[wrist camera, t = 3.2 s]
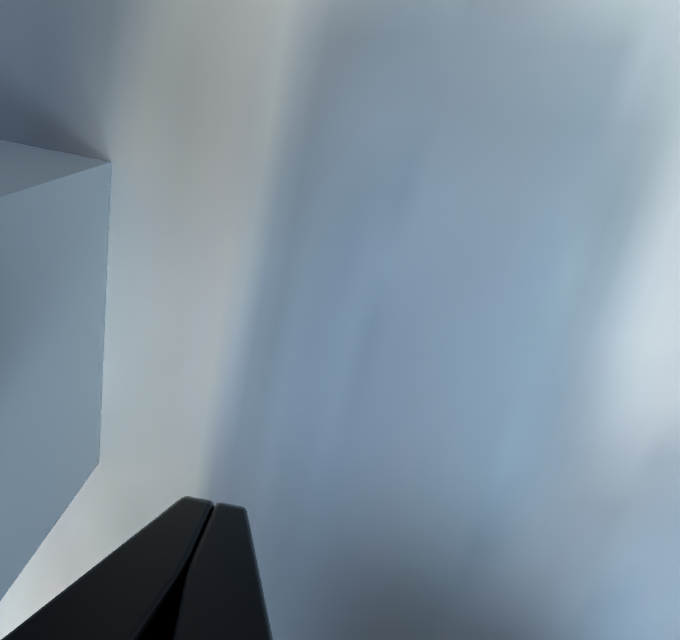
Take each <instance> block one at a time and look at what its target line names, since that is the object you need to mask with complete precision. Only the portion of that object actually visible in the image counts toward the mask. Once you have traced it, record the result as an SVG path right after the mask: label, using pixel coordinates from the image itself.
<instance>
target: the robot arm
mask: <svg viewBox="0 0 680 640" xmlns="http://www.w3.org/2000/svg"><path fill="white" fill-rule="evenodd" d="M2 640H273V638H272V633H271V628H270V623H269V619H268V614H267V609H266V604H265V599H264V594H263V589H262V584H261V579H260V574H259V569H258V564H257V559H256V554H255V549H254V544H253V539H252V534H251V529H250V524H249V520H248V515H247V511H246V509H245V508H244V507H241V506H236V505H231V504H226V503H217V504H216V505H215V506H214V504H213V502H212V501H210V500H205V499H200V498H195V497H190V496H186V497H183V498H181V499H180V500H178V501H177V502H176V503H175V504H173V505H172V506H171V507H169V508H168V509H167V510H166V511H164V512H163V513H162V514H161V515H159V516H158V517H157V518H155V519H154V520H153V521H152V522H150V523H149V524H148V525H147V526H145V527H144V528H143V529H141V530H140V531H139V532H138V533H136V534H135V535H134V536H133V537H131V538H130V539H129V540H127V541H126V542H125V543H124V544H122V545H121V546H120V547H119V548H117V549H116V550H115V551H113V552H112V553H111V554H110V555H108V556H107V557H106V558H105V559H103V560H102V561H101V562H100V563H98V564H97V565H96V566H94V567H93V568H92V569H91V570H89V571H88V572H87V573H86V574H84V575H83V576H82V577H80V578H79V579H78V580H77V581H75V582H74V583H73V584H72V585H70V586H69V587H68V588H66V589H65V590H64V591H63V592H61V593H60V594H59V595H58V596H56V597H55V598H54V599H52V600H51V601H50V602H49V603H47V604H46V605H45V606H44V607H42V608H41V609H40V610H38V611H37V612H36V613H35V614H33V615H32V616H31V617H30V618H28V619H27V620H26V621H24V622H23V623H22V624H21V625H19V626H18V627H17V628H16V629H14V630H13V631H12V632H10V633H9V634H8V635H7V636H5V637H4V638H3V639H2Z"/></svg>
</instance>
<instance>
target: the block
mask: <svg viewBox="0 0 680 640" xmlns="http://www.w3.org/2000/svg"><path fill="white" fill-rule="evenodd" d="M110 181H111V162H109V161H104V160H100V159H95V158H90V157H85V156H80V155H75V154H70V153H65V152H60V151H55V150H50V149H45V148H40V147H35V146H30V145H25V144H20V143H15V142H10V141H5V140H0V601H1V599H2V598H3V596H4V595H5V594H6V592H7V591H8V589H9V588H10V587H11V585H12V584H13V582H14V581H15V580H16V578H17V577H18V575H19V574H20V573H21V571H22V570H23V568H24V567H25V566H26V564H27V563H28V561H29V560H30V559H31V557H32V556H33V554H34V553H35V552H36V550H37V549H38V547H39V546H40V544H41V543H42V542H43V540H44V539H45V537H46V536H47V535H48V533H49V532H50V530H51V529H52V528H53V526H54V525H55V523H56V522H57V521H58V519H59V518H60V516H61V515H62V514H63V512H64V511H65V509H66V508H67V507H68V505H69V504H70V502H71V501H72V500H73V498H74V497H75V495H76V494H77V493H78V491H79V490H80V488H81V487H82V486H83V484H84V483H85V481H86V480H87V479H88V477H89V476H90V474H91V473H92V472H93V470H94V469H95V467H96V466H97V465H98V463H99V448H100V424H101V399H102V375H103V351H104V327H105V302H106V278H107V254H108V230H109V205H110Z"/></svg>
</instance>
